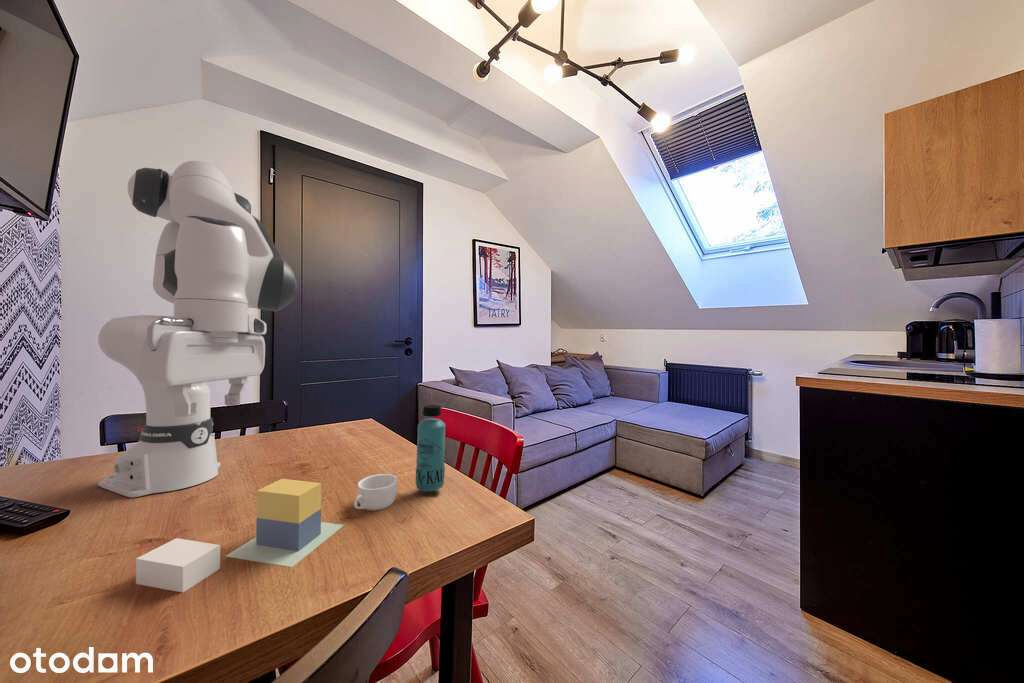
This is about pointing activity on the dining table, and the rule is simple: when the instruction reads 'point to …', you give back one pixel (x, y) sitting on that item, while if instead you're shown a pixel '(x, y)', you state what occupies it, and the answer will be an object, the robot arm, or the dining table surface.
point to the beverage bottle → (430, 451)
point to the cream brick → (177, 564)
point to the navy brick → (288, 532)
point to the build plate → (282, 555)
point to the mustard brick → (289, 500)
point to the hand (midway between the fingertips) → (211, 410)
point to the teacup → (376, 492)
